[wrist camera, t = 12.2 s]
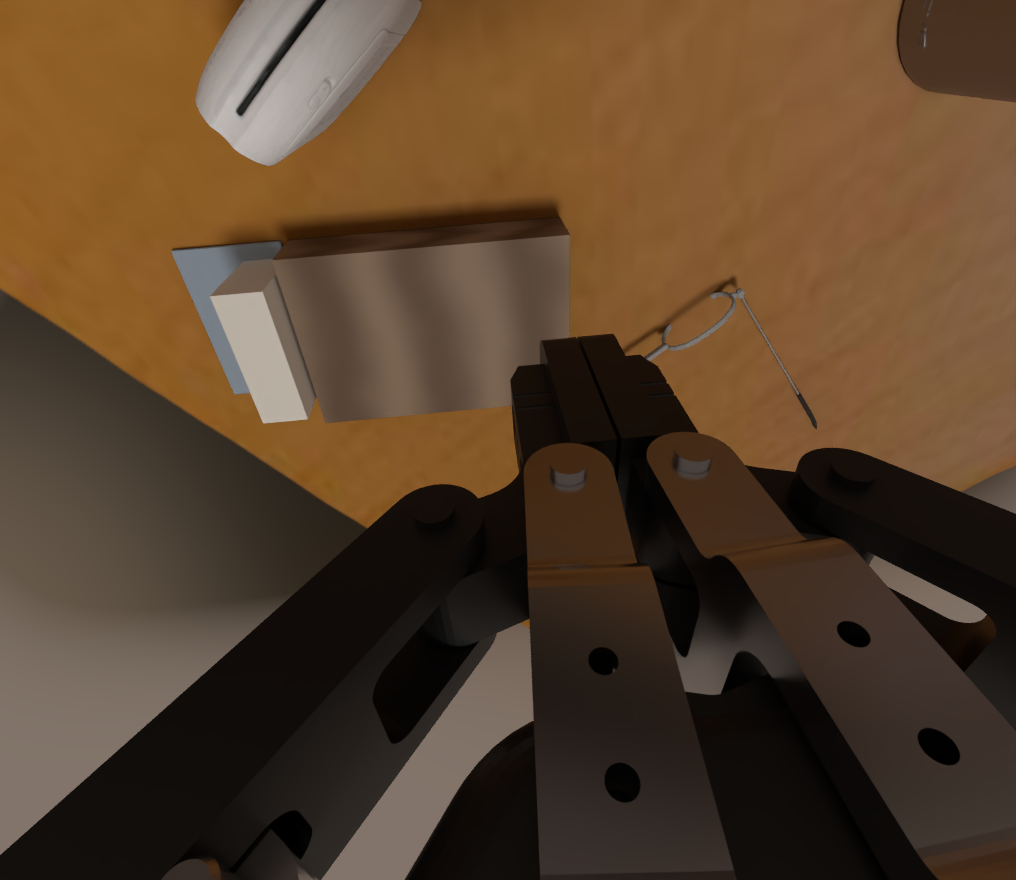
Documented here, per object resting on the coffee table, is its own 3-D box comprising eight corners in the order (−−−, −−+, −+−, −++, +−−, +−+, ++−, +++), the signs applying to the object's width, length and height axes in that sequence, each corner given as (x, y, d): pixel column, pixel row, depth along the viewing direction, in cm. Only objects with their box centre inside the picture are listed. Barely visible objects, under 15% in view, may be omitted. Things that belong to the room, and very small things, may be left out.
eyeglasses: (727, 273, 39) (752, 295, 36) (813, 420, 49) (838, 447, 46) (538, 411, 45) (545, 440, 42) (648, 517, 55) (660, 547, 52)
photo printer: (373, -84, 26) (323, -157, 16) (436, 2, 28) (425, -17, 18) (251, 83, 30) (151, 105, 20) (315, 147, 32) (253, 196, 22)
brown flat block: (559, 217, 35) (570, 234, 32) (559, 373, 43) (568, 400, 39) (288, 240, 35) (271, 260, 32) (335, 394, 42) (325, 423, 39)
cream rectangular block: (262, 291, 30) (209, 296, 30) (307, 419, 36) (263, 423, 36) (288, 257, 35) (243, 261, 35) (325, 374, 41) (285, 378, 41)
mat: (280, 240, 35) (279, 242, 35) (325, 383, 41) (325, 385, 41) (173, 249, 35) (171, 251, 34) (235, 392, 41) (234, 394, 41)
